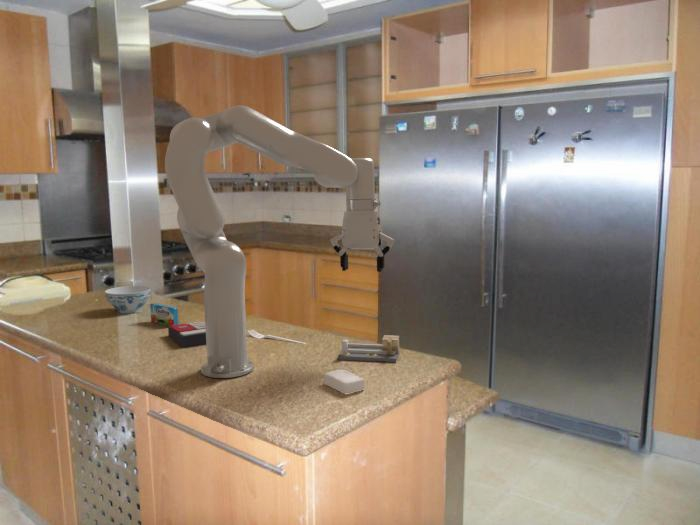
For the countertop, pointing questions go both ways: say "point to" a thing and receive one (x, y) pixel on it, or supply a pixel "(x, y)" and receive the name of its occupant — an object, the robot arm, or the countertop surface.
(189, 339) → the calculator
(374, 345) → the switch panel
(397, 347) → the tan slider block
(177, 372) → the countertop surface
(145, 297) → the chinaware
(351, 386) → the soap
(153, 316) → the blue thin box
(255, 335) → the fork
